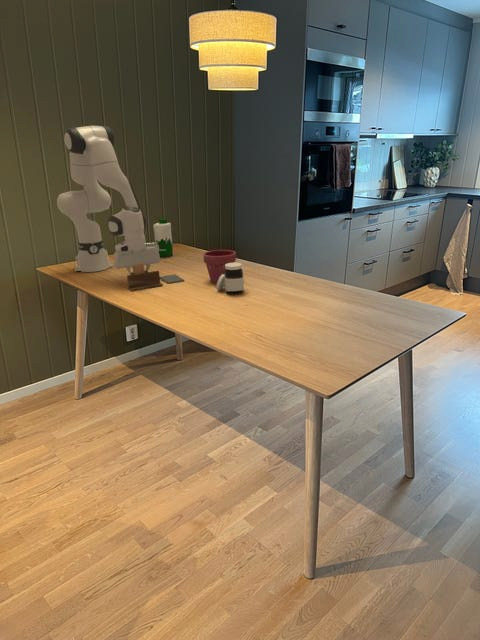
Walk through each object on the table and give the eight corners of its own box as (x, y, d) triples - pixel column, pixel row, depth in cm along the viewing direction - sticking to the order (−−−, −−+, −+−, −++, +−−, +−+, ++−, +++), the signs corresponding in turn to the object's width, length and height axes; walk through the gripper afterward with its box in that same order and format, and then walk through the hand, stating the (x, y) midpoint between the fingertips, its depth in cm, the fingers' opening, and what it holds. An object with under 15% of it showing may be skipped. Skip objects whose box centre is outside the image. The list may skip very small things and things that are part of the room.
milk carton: (174, 254, 267) (171, 218, 260) (169, 258, 258) (166, 221, 251) (159, 254, 268) (156, 218, 261) (154, 258, 260) (150, 221, 253)
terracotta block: (134, 282, 214) (132, 263, 211) (143, 281, 215) (140, 262, 212) (137, 284, 210) (134, 265, 207) (145, 283, 212) (143, 263, 209)
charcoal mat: (159, 278, 220) (158, 276, 220) (175, 275, 223) (175, 274, 223) (167, 284, 210) (167, 282, 210) (184, 281, 213) (184, 279, 213)
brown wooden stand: (128, 288, 205) (126, 275, 203) (159, 283, 211) (157, 270, 209) (131, 291, 201) (129, 277, 199) (162, 286, 207) (161, 272, 205)
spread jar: (244, 295, 190) (243, 267, 186) (216, 296, 190) (215, 268, 186) (242, 286, 202) (241, 260, 198) (216, 288, 201) (214, 261, 197)
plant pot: (226, 274, 221) (225, 247, 216) (242, 281, 210) (241, 252, 205) (199, 280, 214) (197, 252, 209) (215, 287, 202) (213, 257, 198)
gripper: (156, 240, 214) (158, 270, 219) (111, 246, 205) (115, 277, 210) (160, 242, 209) (163, 273, 214) (114, 248, 200) (118, 280, 205)
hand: (139, 275), depth 212 cm, fingers open, 5 cm apart
